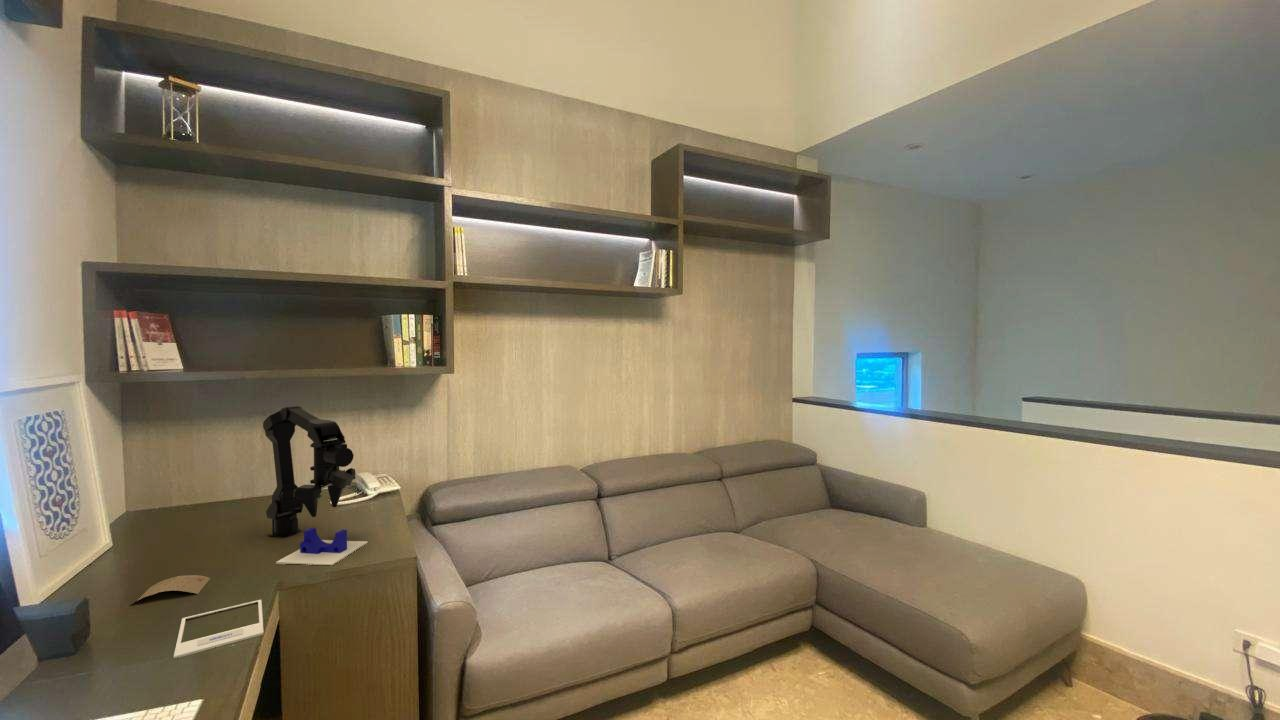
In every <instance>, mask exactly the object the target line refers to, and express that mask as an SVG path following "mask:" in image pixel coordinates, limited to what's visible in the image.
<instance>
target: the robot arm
mask: <svg viewBox="0 0 1280 720" xmlns="http://www.w3.org/2000/svg"><path fill="white" fill-rule="evenodd" d="M296 426H297V427H300V428H301V429H303V430H304V431H306V432H307V437H308V438H309V439H310V440H311V441H312V443H311V444H310V448H313V466H310V467H309V468H310V471H313V479H311V480H310V484H303V485H301V486H298V485H297V484H296V482H295V474H294V465H293V464H294V463H293V455H292V444H291V443H292V442H291V440H292V438H293V436H294V435H295V432H296ZM262 428H263V430H264V433H265V436H266V439H268V440H269V441H270V442H271V444H272V450H273V451H272V452H273V459H274V470H275V480H276V487H275V490H274V491H273V493H272V495H271V502H270V504H269V506H268V507H267V509H266V510H265V514H266V517H267V518H268V519H271V520H272V525H271V526H272V528H271V529H272V533H269V534H268V537H278V538H279V537H280V538H281V537H282V538H284V537H285V538H286V537H289V536H291V535H293V534H296V533H298V532H299V531H301V528H299V519H298V517H297V516H298V514H301V513H302V511H303V507H304V506H305V508H306V509H307V511H308V513H309V515H310V516H311V518H317V514H318V513H317V512H318V503H319V502H318V501H319V500H320V498H322V495H321V493H322V490H323V489H325V488H327V492H328V495H329V500H330V502H331V506H332V507H333V508H337V506H338V504H339V501H340V497H341V495H342V492H343V491H344V489H345V488H347V487H350V486H351V485H352V482H353V481H354V480H356V479H357V477H356V474H357V472H356V469H355V468H352V467H350V468H347V469H346V470H345V469H343V470H341V469H340V468H345V467H348V466H349V465H350V464H352V462H353V460H354V456H355V455H354V452H353V451H352V449H350V448H349V447H348V444H347V443H346V439H345V438H346V437H345V435H344V434H343V432H342V430H341V428H340V426H339V424H338V423H337V422H336V421H334V420H330V419H321V418H318V416H317V417H316V416H315V415H313V414H311V413H309V412H308V411H306V410H304V409H303V408H302V407H301V406H298V405H295V406H293V405H292V406H285V407H282V408H281V409H280V410H279V411H276V412H275V413H272V414H270V415H269V416H267V417H266V419H264V421H263V422H262Z"/></svg>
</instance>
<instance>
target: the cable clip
mask: <svg viewBox="0 0 1280 720" xmlns="http://www.w3.org/2000/svg"><path fill="white" fill-rule="evenodd" d="M334 534H335V535H334V539H333V540H334V541H333V542H332V543H326V542H324V541H322V540H323V539H321V538H320V536H319V535H318V533H317V527H310V528H308V529H306V530H304V531H303V540H302V541H301V542H300V543H299V549H300V553H311V554H319V553H321V552H329V553H341V552H343V551H345V550H347V541H348V531H347V529H341V530H339V531H337V532H335V533H334Z"/></svg>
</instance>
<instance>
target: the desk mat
mask: <svg viewBox="0 0 1280 720" xmlns="http://www.w3.org/2000/svg"><path fill="white" fill-rule="evenodd" d="M321 540H322V541H324V542H326V543H332V542H333V541H334V539H332V540H331V539H321ZM367 543H368V544H369V541H366V540H365V541H358V540H347V550H345V551H343V552H341V553H329V552H321V553H319V554H311V553H300V548H299V549H298V550H296V551H294V552H292V553H290V554H288V555H286V556H284V557H282V558H281V559H279V560H277V561H275V565H285V564H306V565H305V566H309V565H312V564H313V565H334V564H335V563H337V562H338V563H339V561H340V560H341V561H342V559H343V560H345V559H346V558H347V556H348V555H349V554H351V553H352V554H354V553H355V552H357V551H358V550H357V549H359V548H360V547H362V546H363V547H364V545H365V544H366V545H368V544H367ZM366 545H365V546H366ZM363 547H362V548H363ZM360 549H361V548H360ZM360 549H359V550H360ZM356 550H357V551H356ZM354 551H355V552H354ZM353 552H354V553H353ZM352 554H351V555H352ZM349 556H350V555H349ZM349 556H348V557H349ZM345 557H346V558H345ZM341 561H340V562H341ZM338 563H337V564H338ZM307 564H308V565H307ZM335 565H336V564H335ZM335 565H334V566H335Z"/></svg>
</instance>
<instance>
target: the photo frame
mask: <svg viewBox="0 0 1280 720" xmlns="http://www.w3.org/2000/svg"><path fill="white" fill-rule="evenodd" d="M252 604H253V605H254V604H257V606H258V622H257V623H253V624H250V625H249V624H248V625H246V626H245V625H244V626H242V627H237V628H233V629H230V630H226V631H222V632H218V633H215V634H214V633H213V634H210V635H207V636H203V637H199V638H194V639H191V640H186V641H183V642H182V640H183V636H184V631H185V627H186V620H189V619H194V618H199V617H202V616H206V615H210V614H215V612H216V613H219V611H220V612H222V611H223V612H224V611H227V610H231V609H236V608H241V607H245V606H248V605H252ZM263 617H264V616H263V604H262V599H257V600H253V601H250V602H249V601H248V602H244V603H240V604H236V605H232V606H228V607H223V608H219V609H216V610H212V611H211V610H210V611H206V612H203V613H198V614H193V615H189V616H186V617H182V618H181V621H180V626H179V631H178V636H177V640H176V645H175V649H174V653H173V659H175V658H176V659H178V658H179V659H180V658H183V657H186V656H190V655H193V654H197V653H201V652H204V651H208V650H211V649H214V648H215V647H216V648H218V647H223V646H225V645H229V644H234V643H238V642H241V641H245V640H247V639H253V638H256V637H259V636H263V635H264V620H263ZM216 648H215V649H216ZM177 657H178V658H177Z"/></svg>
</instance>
